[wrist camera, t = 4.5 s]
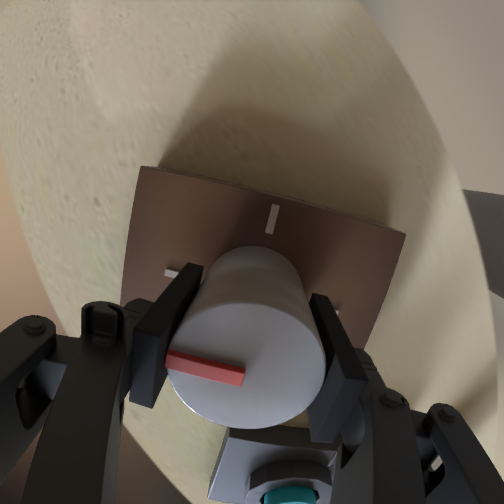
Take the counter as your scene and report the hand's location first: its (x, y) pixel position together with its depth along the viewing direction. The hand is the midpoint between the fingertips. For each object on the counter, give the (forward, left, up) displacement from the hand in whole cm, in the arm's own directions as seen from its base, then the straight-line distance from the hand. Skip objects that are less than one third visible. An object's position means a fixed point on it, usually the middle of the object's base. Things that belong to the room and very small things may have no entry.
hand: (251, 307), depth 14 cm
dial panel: (0, 0, -4) cm, 4 cm away
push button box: (-7, +16, -4) cm, 18 cm away
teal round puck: (-7, +16, -1) cm, 17 cm away
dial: (0, 0, -2) cm, 2 cm away
